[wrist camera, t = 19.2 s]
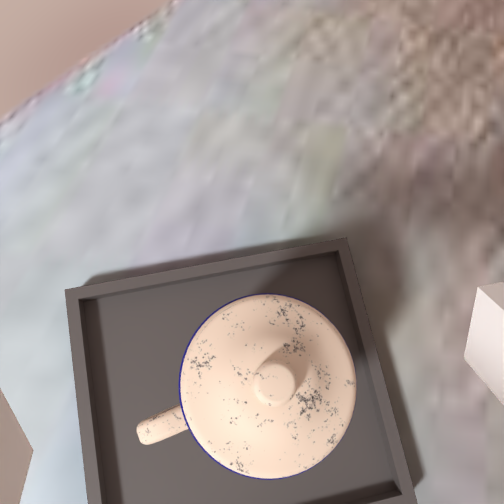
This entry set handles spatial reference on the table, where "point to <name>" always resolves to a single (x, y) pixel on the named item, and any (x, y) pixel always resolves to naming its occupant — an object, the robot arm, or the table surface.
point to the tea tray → (167, 384)
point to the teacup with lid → (262, 388)
